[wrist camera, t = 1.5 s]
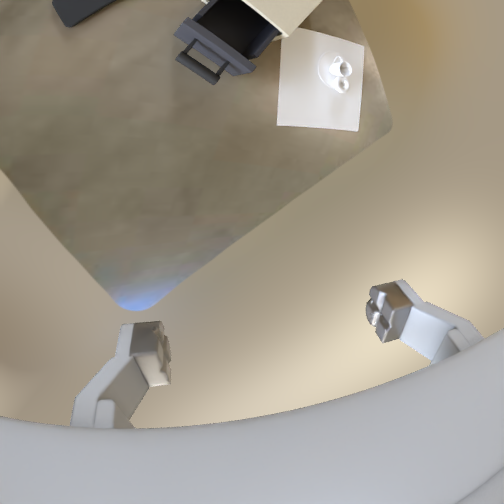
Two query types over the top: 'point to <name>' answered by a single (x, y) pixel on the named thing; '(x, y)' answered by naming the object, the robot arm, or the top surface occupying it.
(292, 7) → the cabinet
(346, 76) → the teacup and saucer
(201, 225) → the top surface
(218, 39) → the drawer
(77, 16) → the phone
